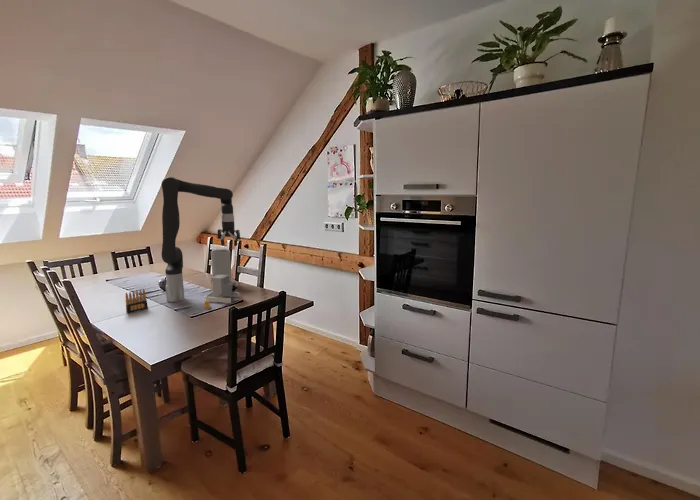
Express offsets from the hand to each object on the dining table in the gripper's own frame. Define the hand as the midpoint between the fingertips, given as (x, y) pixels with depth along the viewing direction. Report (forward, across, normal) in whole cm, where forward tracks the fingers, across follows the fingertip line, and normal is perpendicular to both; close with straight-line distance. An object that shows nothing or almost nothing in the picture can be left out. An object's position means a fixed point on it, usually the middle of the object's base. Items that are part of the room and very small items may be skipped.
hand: (229, 245), depth 230 cm
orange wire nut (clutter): (+32, -2, -27) cm, 42 cm away
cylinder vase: (+32, -15, +15) cm, 39 cm away
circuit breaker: (+32, +2, -12) cm, 35 cm away
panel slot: (+32, +1, -12) cm, 34 cm away
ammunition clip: (+32, -38, -39) cm, 63 cm away
